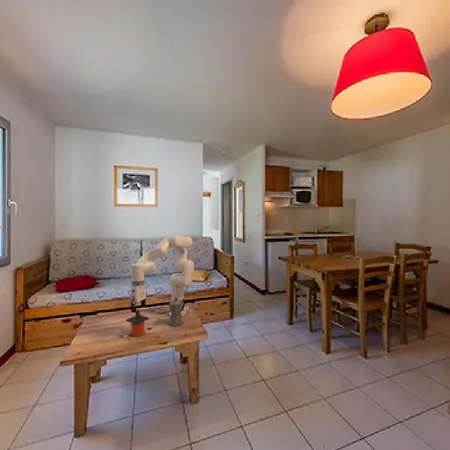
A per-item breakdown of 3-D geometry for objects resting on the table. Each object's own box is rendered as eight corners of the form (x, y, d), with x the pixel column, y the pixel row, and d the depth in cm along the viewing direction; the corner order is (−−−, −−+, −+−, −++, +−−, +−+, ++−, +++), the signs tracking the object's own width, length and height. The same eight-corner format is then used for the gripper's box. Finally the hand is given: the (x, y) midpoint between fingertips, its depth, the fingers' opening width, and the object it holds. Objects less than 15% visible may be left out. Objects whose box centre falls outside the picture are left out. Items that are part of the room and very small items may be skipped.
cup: (141, 329, 160) (141, 316, 160) (146, 334, 154) (146, 319, 154) (129, 333, 155) (129, 319, 155) (134, 338, 149) (134, 323, 149)
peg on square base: (139, 315, 161) (139, 306, 161) (149, 318, 156) (149, 309, 156) (125, 320, 153) (125, 311, 153) (136, 324, 147) (136, 314, 147)
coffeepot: (173, 329, 162) (173, 302, 161) (164, 325, 167) (164, 299, 167) (189, 321, 174) (189, 296, 174) (180, 318, 180) (180, 293, 179)
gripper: (134, 287, 145) (134, 315, 145) (151, 279, 161) (151, 305, 162) (123, 286, 147) (124, 314, 148) (141, 278, 163) (141, 304, 164)
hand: (138, 309), depth 155 cm, fingers open, 9 cm apart
